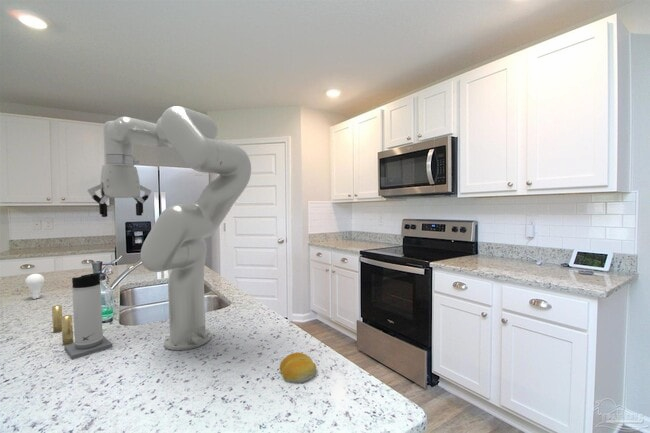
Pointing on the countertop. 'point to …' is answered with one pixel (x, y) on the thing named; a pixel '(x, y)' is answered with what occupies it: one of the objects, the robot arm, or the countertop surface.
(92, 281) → the travel mug
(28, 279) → the lightbulb
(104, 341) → the mat
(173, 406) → the countertop surface
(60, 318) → the spacer posts
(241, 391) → the countertop surface
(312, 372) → the bread roll
